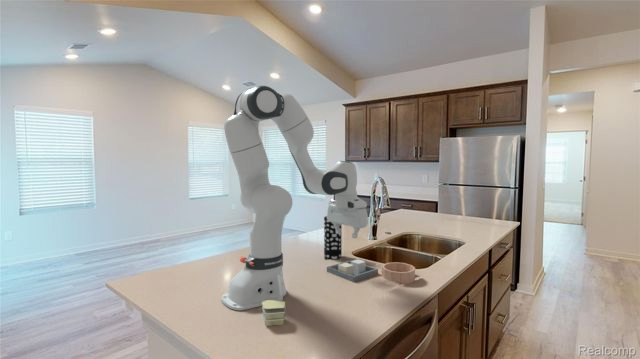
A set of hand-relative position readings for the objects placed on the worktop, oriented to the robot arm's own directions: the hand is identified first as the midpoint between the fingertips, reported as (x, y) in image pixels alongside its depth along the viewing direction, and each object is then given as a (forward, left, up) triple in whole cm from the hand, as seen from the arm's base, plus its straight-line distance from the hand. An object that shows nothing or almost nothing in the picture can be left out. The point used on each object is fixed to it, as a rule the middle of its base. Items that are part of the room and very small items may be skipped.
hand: (346, 235), depth 134 cm
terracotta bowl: (+14, -15, -17) cm, 27 cm away
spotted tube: (+12, +22, -17) cm, 30 cm away
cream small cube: (0, 0, -16) cm, 16 cm away
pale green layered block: (-43, -13, -17) cm, 48 cm away
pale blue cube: (+7, 0, -16) cm, 17 cm away
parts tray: (+3, 0, -17) cm, 17 cm away
